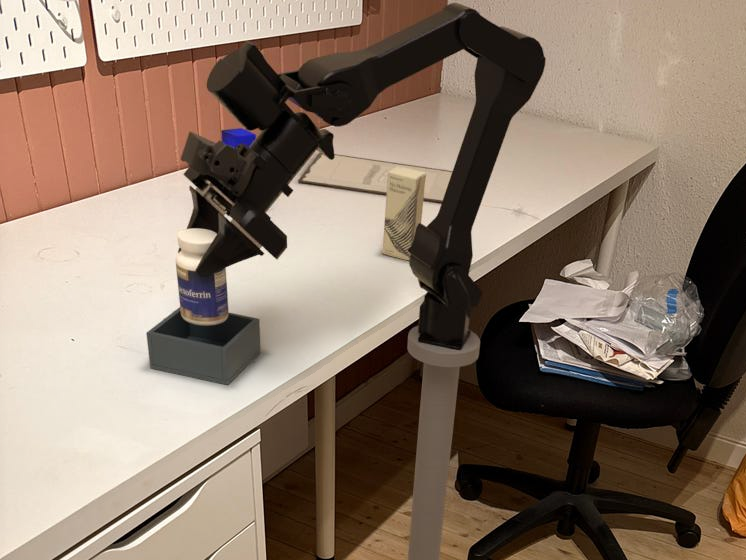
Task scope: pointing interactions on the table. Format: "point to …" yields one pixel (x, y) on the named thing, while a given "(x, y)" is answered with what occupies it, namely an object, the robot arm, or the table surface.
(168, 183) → the table surface
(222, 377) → the bin
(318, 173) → the picture frame
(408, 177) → the box
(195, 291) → the pill bottle
